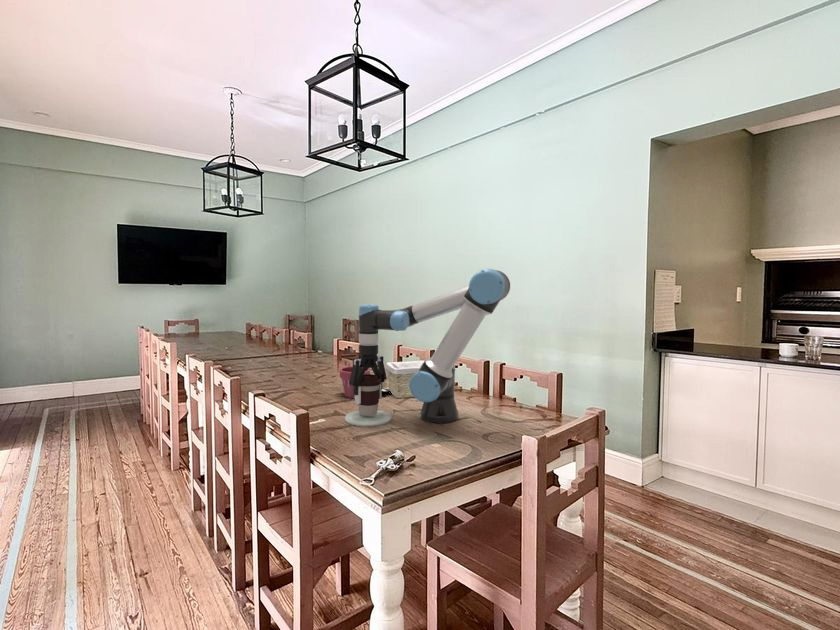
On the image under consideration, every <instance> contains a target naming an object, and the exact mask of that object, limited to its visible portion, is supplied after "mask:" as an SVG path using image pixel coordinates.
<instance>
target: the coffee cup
mask: <svg viewBox="0 0 840 630" xmlns="http://www.w3.org/2000/svg"><path fill="white" fill-rule="evenodd" d="M356 384H357V383H356ZM380 384H381V379H379V378H378V377H377V376H376V375H374V373H370V374H364V375H363V378H362V380H361V382H360V385H359V386H360V387H361V404H358V403H357V405H358V406H357V408H358V411H359V414H360V415H363V416H372V415H375V414H377V411H378V410H379V409H378V407H379V401H380V399H379V392H380V388H379V385H380Z"/></svg>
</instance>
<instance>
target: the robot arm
mask: <svg viewBox="0 0 840 630" xmlns="http://www.w3.org/2000/svg"><path fill="white" fill-rule="evenodd" d="M510 291H511V281H510V279H509V277H508V275H507V274H506V273H504V272H502V270H501V271H500V270H497V269H494V268H493V269H492V268H485V269H482V270H481V269H480V270H479V271H478V272H476V273H475V274H473V275H472V277H471V278H470V280H469V283H468V285H465V286H463V287H459V288H457V289H455V290H451V291H449V292H446V293H444V294H440V295H437V296H435V297H433V298H430V299H426V300H424V301H421V302H417V303H416V304H415V303H414V304H412V305H410V306H407V307H404V308H401V309H393V310H392V309H391V310H388V309H387V310H384V309H383V310H382V309H379V305H378V304H373V303H372V304H369V303H363V304H360V305H359V307H358V343H359V345H358V354H359V358H358V359H353V360H352V366H353V367H352V372H351V376H350V381H349V385H351V386H353V394H354V395H355V398H354V404H357V405H358V404H361V387H360V386H359V385H360V382H361V380H362V378H363V375H364V373H365V371H366V370H367V369H368V368H369V369H371V370H372V372H373V375H376V376H377V377H378V378H379V379H381V384H380V385H379V388H380V392H379V400H381V399H382V390H383V383H385V380H387V379H388V376H387V372H386V369H385V368H386V367H385V364H384V356H383V355H378V354H379V345H378V344H379V331H380V330H384V331H396V332H399V331H403V332H404V331H406V330H407V329H408V328H409V327H412V326H415V325H417V324H419V323H423V322H425V321H428V320H432V319H434V318H437V317H441V316H444V315H446V314H449V313H452V312H454V311H457V310H459V312H457V315H456V316H455V318H454V320H453V321H452V323H451V324H450V326H449V328H448V330H447V332H446V333H445V334H444V336H443V338H442V339H441V341H440V343H439V345H438V346H437V348H436V349H435V351H434V352H433V354H432V356H431V357H427V358H425V359H424V360H423V361H424V363H423V364H422V366H421V368H420V369H419V371H418V372H416V373H415V374H414V375H413V376H412V378H411V379H410V384H409V386H410V390H411V393H412V395H413V396H414V397H413V398H415V399H416V400H417V401H419V402H421V403H423V404H422V407H421V409H420V418H421V419H422V420H424V421H426V422H431V423H436V424H437V423H439V424H441V423H442V424H443V423H451V422H455V421H457V420H458V419H459V410H458V409H457V404H456V400H455V378H456V375H455V374H456V367H455V366H456V363H457V362H458V360H459V359H460V358H461V356H462V354H463V352H464V351H465V349H466V347H467V345H468V344H469V343H470V341H471V340H472V338H473V337H474V335H475V333H476V331H477V330H478V328H479V327H480V325H481V323H482V322H483V320H484V319H485V317H486V316H488V315H492V314H493V312H494V311H495V309H496V308H497V306H498V305H499V303H500V301H502V300H505V298H506V297H507V296H508V295H509V293H510ZM362 367H363V368H362ZM356 383H357V384H356Z"/></svg>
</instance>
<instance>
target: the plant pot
mask: <svg viewBox="0 0 840 630" xmlns="http://www.w3.org/2000/svg"><path fill="white" fill-rule="evenodd" d="M352 367H353V365H351V366H344V367H342V368H339V378H340V379H341V382H342V387H343V391H344V392H343V393H344V396H345V397H346V398H349V399H355V395H354V394H353V386H351V385H349V381H350V376H351V372H352ZM362 368H363V367H362ZM370 369H371V368H368V369H367V370H366V371H365V373H364V374H371V370H370Z"/></svg>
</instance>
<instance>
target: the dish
mask: <svg viewBox="0 0 840 630" xmlns="http://www.w3.org/2000/svg"><path fill="white" fill-rule="evenodd" d="M344 421H346V422H347V424H348V425H350V424H351V425H350V426H354V425H355V427H360V426H364V427H363V428H366V427H367V428H369V427H371V428H372V427H380V426H383V425H386V424H388V423H390V422H391V421H392V415H391V414H390V413H389V412H387V411H385V410H379V409H378V411H377V414H375V415H372V416H363V415H360V414H359V410H354V411H351V412H348V413H347V414H345V416H344ZM346 422H345V423H346Z"/></svg>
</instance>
